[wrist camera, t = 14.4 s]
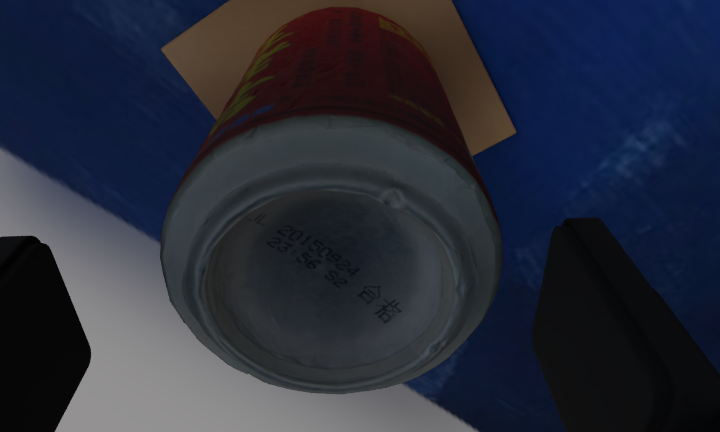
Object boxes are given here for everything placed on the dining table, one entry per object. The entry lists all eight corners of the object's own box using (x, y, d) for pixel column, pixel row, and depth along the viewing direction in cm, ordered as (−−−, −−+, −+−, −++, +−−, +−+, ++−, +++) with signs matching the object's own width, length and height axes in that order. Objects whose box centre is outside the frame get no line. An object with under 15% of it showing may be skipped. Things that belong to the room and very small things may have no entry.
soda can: (364, 204, 23) (369, 460, 13) (219, 113, 21) (84, 331, 11) (474, 73, 21) (595, 267, 10) (319, -48, 18) (265, 38, 8)
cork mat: (163, 46, 20) (159, 49, 20) (394, -116, 18) (395, -116, 17) (312, 234, 25) (311, 240, 25) (514, 128, 22) (517, 133, 22)
